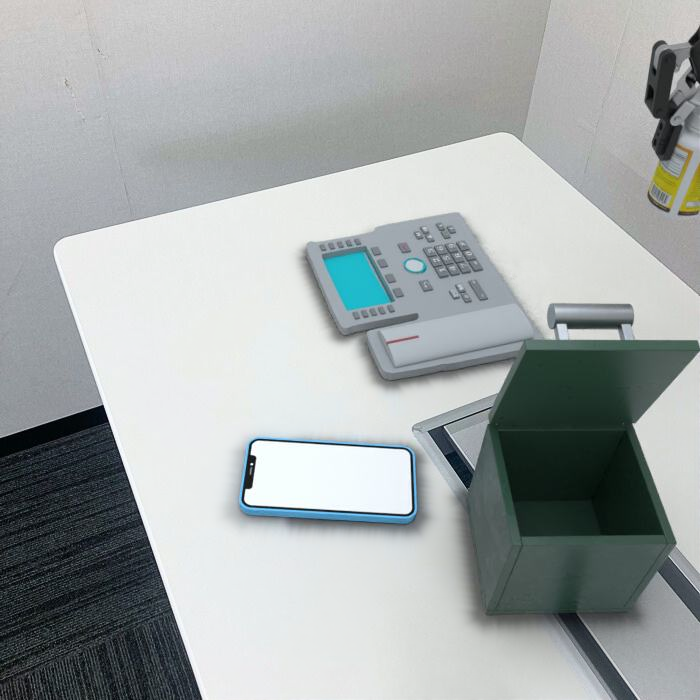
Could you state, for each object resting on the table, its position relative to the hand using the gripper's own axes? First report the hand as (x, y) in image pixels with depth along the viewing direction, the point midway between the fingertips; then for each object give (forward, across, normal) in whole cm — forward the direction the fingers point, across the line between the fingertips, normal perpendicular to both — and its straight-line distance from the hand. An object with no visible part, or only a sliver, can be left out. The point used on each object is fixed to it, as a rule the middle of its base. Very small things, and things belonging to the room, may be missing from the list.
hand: (694, 156), depth 70 cm
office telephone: (+19, -24, +2) cm, 31 cm away
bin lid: (+3, -16, -27) cm, 31 cm away
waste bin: (+19, -16, -30) cm, 39 cm away
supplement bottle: (+6, 0, 0) cm, 6 cm away
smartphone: (+19, -34, -23) cm, 45 cm away
